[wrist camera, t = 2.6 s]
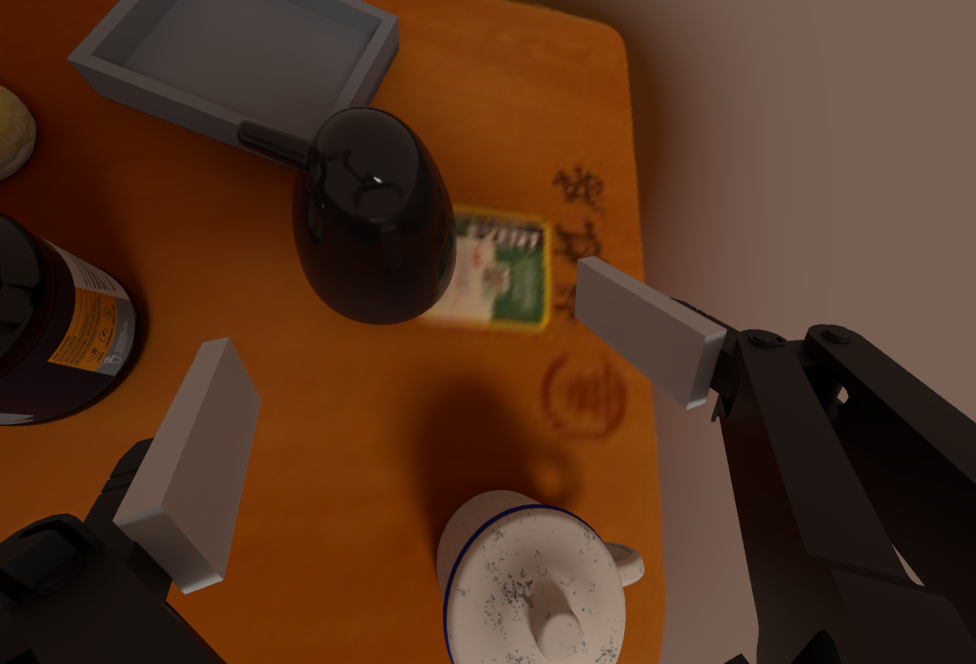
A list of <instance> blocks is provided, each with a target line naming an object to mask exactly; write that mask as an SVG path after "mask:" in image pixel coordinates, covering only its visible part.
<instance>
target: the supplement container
mask: <svg viewBox="0 0 976 664" xmlns="http://www.w3.org/2000/svg"><path fill="white" fill-rule="evenodd" d="M145 336H146V324H145V318H144V314H143V311H142V308H141V306H140V304H139V302H138V300H137V299H136V297H135V296H134V294H133V293H132V292H131V291H130V289H129V288H128V287H127V286H126V285H125V284H123V283H122V282H121V281H120V280H119V279H117V278H116V277H114V276H113V275H111V274H110V273H108V272H106V271H104V270H102V269H100V268H98V267H95V266H93V265H90V264H89V263H87V262H85V261H83V260H81V259H79V258H78V257H76V256H74V255H72V254H70V253H69V252H67V251H65V250H63V249H61V248H59V247H58V246H56V245H54V244H52V243H50V242H49V241H47V240H45V239H43V238H41V237H39V236H38V235H36V234H34V233H32V232H30V231H29V230H28V229H27V228H26V227H24V226H23V225H21V224H20V223H19V222H17V221H16V220H14V219H13V218H11V217H9V216H7V215H5V214H4V213H2V212H0V426H31V425H39V424H45V423H50V422H54V421H58V420H61V419H65V418H68V417H70V416H73V415H76V414H78V413H80V412H82V411H85V410H87V409H89V408H90V407H92V406H94V405H96V404H97V403H99V402H100V401H102V400H103V399H105V398H106V397H108V396H109V395H110V394H111V393H113V392H114V391H115V390H116V389H117V388H118V387H119V386H120V385H121V384H122V383H123V382H124V381H125V380H126V379H127V377H128V376H129V375H130V373H131V372H132V371H133V369H134V367H135V366H136V364H137V362H138V360H139V358H140V356H141V353H142V350H143V347H144V343H145Z"/></svg>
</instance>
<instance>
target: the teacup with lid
mask: <svg viewBox="0 0 976 664" xmlns="http://www.w3.org/2000/svg"><path fill="white" fill-rule="evenodd" d="M436 565H437V578H438V582H439V587H440V592H441V597H442V601H443V628H444V636H445V642H446V646H447V651H448V654H449V657H450V660H451V663H452V664H616V662H617V659H618V656H619V653H620V650H621V646H622V642H623V636H624V629H625V598H624V591H623V586H626V585H629V584H632V583H634V582H636V581H637V580H639V579H640V578H641V577H642V575H643V573H644V565H643V560H642V557H641V555H640V554H639V552H637V551H636V550H635V549H633V548H631V547H628V546H626V545H622V544H618V543H612V542H603V540H602V539H601V538H600V536H599V535H598V534H597V533H596V532H595V531H594V530H593V528H591V527H590V526H589V525H588V524H587V523H586V522H585V521H583V520H582V519H581V518H579V517H578V516H576V515H574V514H573V513H571V512H569V511H566V510H564V509H561V508H558V507H555V506H550V505H543V504H541V503H539V502H537V501H535V500H533V499H531V498H529V497H527V496H524V495H522V494H520V493H517V492H513V491H507V490H495V491H489V492H485V493H482V494H479V495H477V496H475V497H473V498H471V499H470V500H468V501H467V502H465V503H464V504H463V505H462V506H461V507H460V508H459V509H458V510H457V511H456V512H455V513H454V514H453V516H452V517H451V518H450V520H449V521H448V523H447V525H446V527H445V529H444V531H443V533H442V536H441V539H440V542H439V546H438V552H437V562H436Z"/></svg>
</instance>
